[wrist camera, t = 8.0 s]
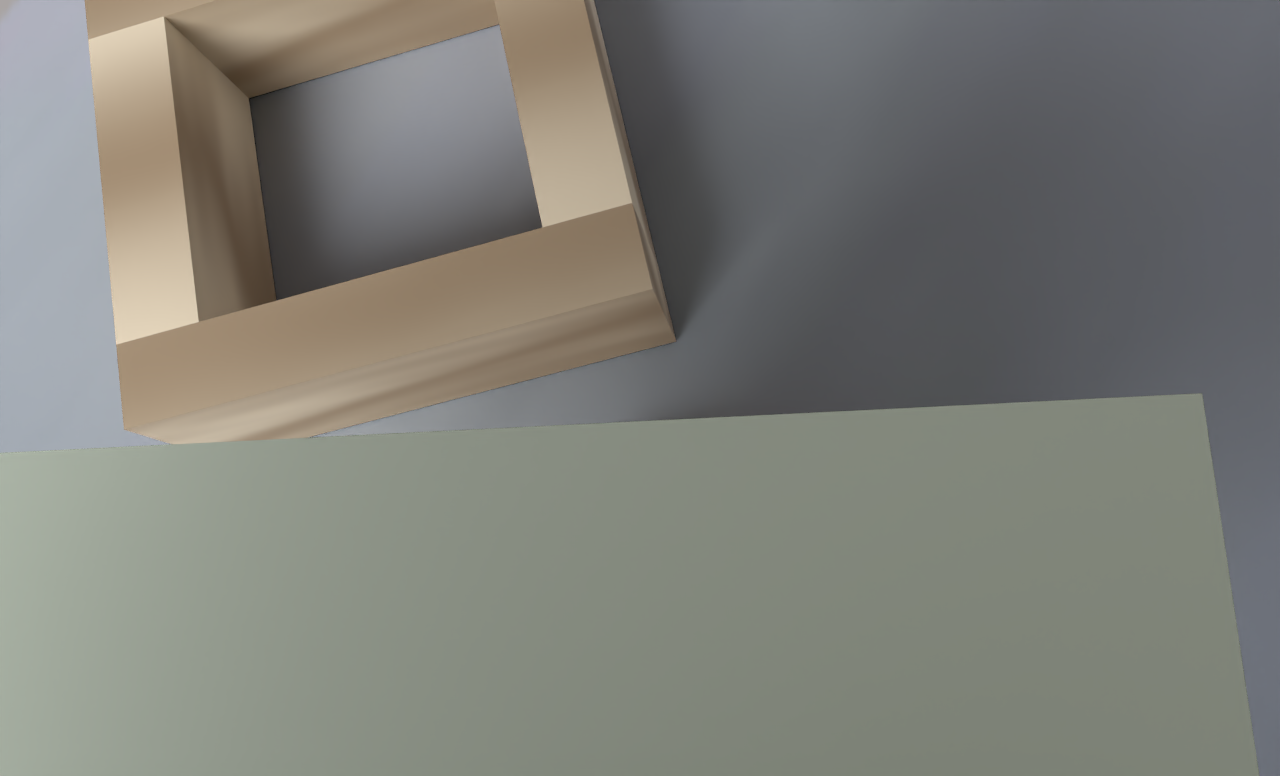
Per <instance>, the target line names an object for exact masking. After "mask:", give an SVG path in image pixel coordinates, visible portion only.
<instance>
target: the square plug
mask: <svg viewBox="0 0 1280 776" xmlns="http://www.w3.org/2000/svg"><path fill="white" fill-rule="evenodd" d="M0 776H1259V770H1258V763H1257V757H1256V750H1255V743H1254V737H1253V730H1252V723H1251V717H1250V710H1249V703H1248V697H1247V690H1246V683H1245V676H1244V670H1243V663H1242V656H1241V650H1240V643H1239V636H1238V630H1237V623H1236V616H1235V610H1234V603H1233V596H1232V590H1231V583H1230V576H1229V570H1228V563H1227V556H1226V550H1225V543H1224V536H1223V529H1222V523H1221V516H1220V509H1219V503H1218V496H1217V489H1216V483H1215V476H1214V469H1213V463H1212V456H1211V449H1210V443H1209V436H1208V429H1207V423H1206V416H1205V409H1204V403H1203V396H1202V393H1199V394H1179V395H1158V396H1138V397H1118V398H1098V399H1078V400H1058V401H1037V402H1017V403H997V404H977V405H957V406H937V407H917V408H896V409H876V410H856V411H836V412H816V413H796V414H776V415H755V416H735V417H715V418H695V419H675V420H655V421H635V422H614V423H594V424H574V425H554V426H534V427H514V428H494V429H473V430H453V431H433V432H413V433H393V434H373V435H353V436H332V437H312V438H292V439H272V440H252V441H232V442H212V443H191V444H171V445H151V446H131V447H111V448H91V449H70V450H50V451H30V452H10V453H0Z"/></svg>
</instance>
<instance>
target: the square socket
mask: <svg viewBox="0 0 1280 776" xmlns="http://www.w3.org/2000/svg"><path fill="white" fill-rule="evenodd" d="M85 8H86V19H87V30H88V41H89V52H90V63H91V73H92V84H93V95H94V106H95V117H96V128H97V139H98V150H99V161H100V172H101V183H102V194H103V205H104V215H105V226H106V237H107V248H108V259H109V270H110V281H111V292H112V303H113V314H114V325H115V336H116V347H117V357H118V368H119V379H120V390H121V401H122V412H123V423H124V430H127V431H130V432H134V433H137V434H140V435H144V436H147V437H150V438H153V439H157V440H160V441H163V442H166V443H170V444H191V443H212V442H232V441H252V440H272V439H292V438H307V437H311V436H315V435H319V434H323V433H327V432H330V431H334V430H338V429H342V428H346V427H350V426H353V425H357V424H361V423H365V422H369V421H373V420H377V419H380V418H384V417H388V416H392V415H396V414H400V413H403V412H407V411H411V410H415V409H419V408H423V407H426V406H430V405H434V404H438V403H442V402H446V401H449V400H453V399H457V398H461V397H465V396H469V395H472V394H476V393H480V392H484V391H488V390H492V389H496V388H499V387H503V386H507V385H511V384H515V383H519V382H522V381H526V380H530V379H534V378H538V377H542V376H545V375H549V374H553V373H557V372H561V371H565V370H568V369H572V368H576V367H580V366H584V365H588V364H592V363H595V362H599V361H603V360H607V359H611V358H615V357H618V356H622V355H626V354H630V353H634V352H638V351H641V350H645V349H649V348H653V347H657V346H661V345H664V344H668V343H672V342H676V338H675V334H674V330H673V325H672V321H671V317H670V313H669V309H668V305H667V301H666V296H665V292H664V288H663V284H662V280H661V276H660V272H659V267H658V263H657V259H656V255H655V251H654V247H653V243H652V238H651V234H650V230H649V226H648V222H647V218H646V214H645V209H644V205H643V201H642V197H641V193H640V189H639V185H638V180H637V176H636V172H635V168H634V164H633V160H632V156H631V151H630V147H629V143H628V139H627V135H626V131H625V127H624V122H623V118H622V114H621V110H620V106H619V102H618V98H617V93H616V89H615V85H614V81H613V77H612V73H611V69H610V64H609V60H608V56H607V52H606V48H605V44H604V40H603V35H602V31H601V27H600V23H599V19H598V15H597V11H596V6H595V2H594V0H85ZM498 24H499V25H500V30H501V34H502V39H503V44H504V48H505V53H506V58H507V63H508V67H509V72H510V77H511V81H512V86H513V91H514V96H515V100H516V105H517V110H518V114H519V119H520V124H521V129H522V133H523V138H524V143H525V147H526V152H527V157H528V162H529V166H530V171H531V176H532V180H533V185H534V190H535V195H536V199H537V204H538V209H539V213H540V218H541V223H542V228H539V229H535V230H531V231H528V232H524V233H521V234H517V235H513V236H510V237H506V238H502V239H499V240H495V241H491V242H488V243H484V244H481V245H477V246H473V247H470V248H466V249H462V250H459V251H455V252H451V253H448V254H444V255H441V256H437V257H433V258H430V259H426V260H422V261H419V262H415V263H411V264H408V265H404V266H401V267H397V268H393V269H390V270H386V271H382V272H379V273H375V274H371V275H368V276H364V277H361V278H357V279H353V280H350V281H346V282H342V283H339V284H335V285H331V286H328V287H324V288H321V289H317V290H313V291H310V292H306V293H302V294H299V295H295V296H291V297H288V298H284V299H281V300H277V301H276V294H275V287H274V280H273V272H272V265H271V258H270V250H269V243H268V236H267V228H266V221H265V214H264V206H263V199H262V191H261V184H260V177H259V169H258V162H257V155H256V147H255V140H254V133H253V125H252V118H251V111H250V103H249V98H252V97H255V96H258V95H262V94H265V93H268V92H272V91H275V90H279V89H282V88H285V87H289V86H292V85H295V84H299V83H302V82H306V81H309V80H312V79H316V78H319V77H322V76H326V75H329V74H333V73H336V72H339V71H343V70H346V69H350V68H353V67H356V66H360V65H363V64H366V63H370V62H373V61H377V60H380V59H383V58H387V57H390V56H393V55H397V54H400V53H404V52H407V51H410V50H414V49H417V48H420V47H424V46H427V45H431V44H434V43H437V42H441V41H444V40H447V39H451V38H454V37H458V36H461V35H464V34H468V33H471V32H475V31H478V30H481V29H485V28H488V27H491V26H495V25H498Z"/></svg>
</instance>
